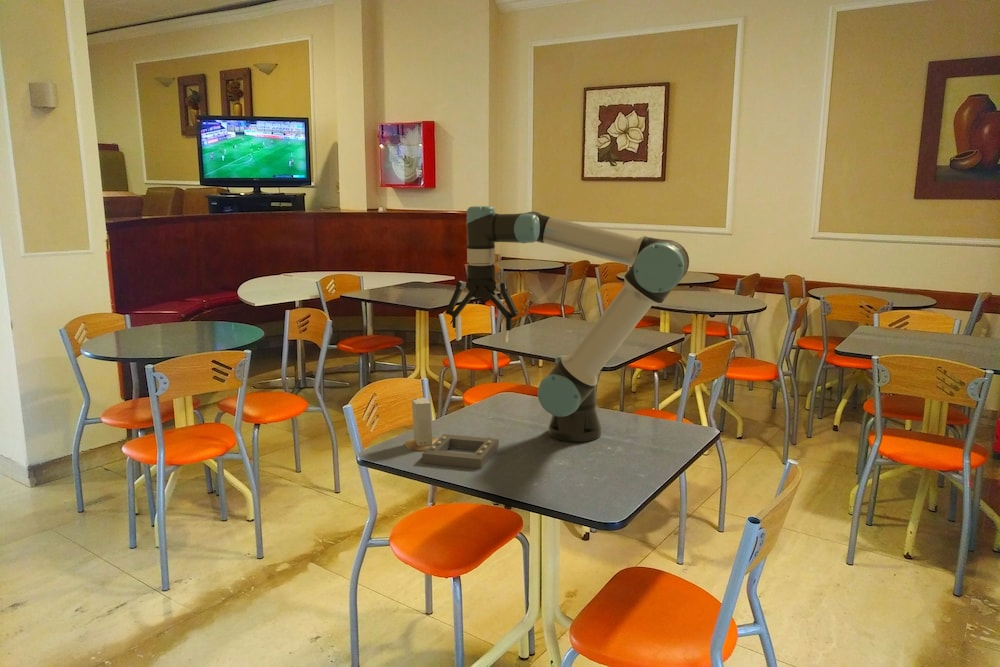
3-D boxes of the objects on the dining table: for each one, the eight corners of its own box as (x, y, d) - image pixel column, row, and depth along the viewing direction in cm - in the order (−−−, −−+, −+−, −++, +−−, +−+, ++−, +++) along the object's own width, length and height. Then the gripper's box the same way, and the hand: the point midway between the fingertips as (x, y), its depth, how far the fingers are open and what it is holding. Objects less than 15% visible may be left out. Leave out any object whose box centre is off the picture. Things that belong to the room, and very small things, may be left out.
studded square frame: (498, 447, 204) (498, 437, 204) (481, 468, 189) (480, 457, 189) (444, 442, 209) (443, 432, 208) (422, 462, 194) (422, 451, 193)
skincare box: (433, 445, 205) (431, 402, 203) (417, 447, 204) (415, 404, 201) (428, 438, 211) (427, 397, 208) (412, 439, 209) (411, 398, 207)
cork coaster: (446, 440, 211) (446, 438, 210) (433, 452, 201) (433, 450, 201) (413, 437, 213) (413, 435, 213) (399, 449, 204) (399, 446, 204)
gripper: (529, 263, 201) (529, 340, 205) (442, 261, 208) (444, 336, 212) (522, 266, 194) (522, 345, 198) (432, 264, 201) (434, 341, 205)
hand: (482, 340), depth 205 cm, fingers open, 13 cm apart
